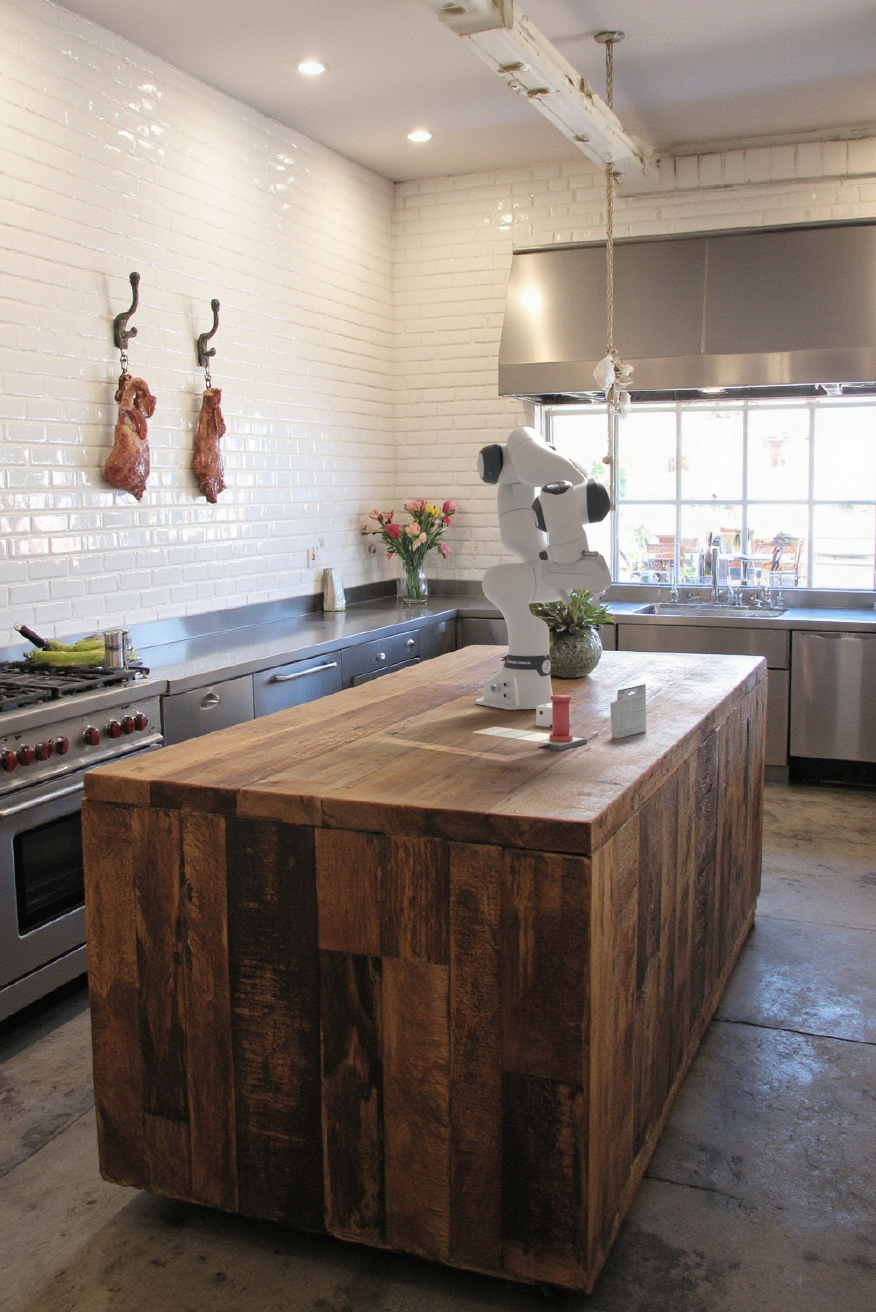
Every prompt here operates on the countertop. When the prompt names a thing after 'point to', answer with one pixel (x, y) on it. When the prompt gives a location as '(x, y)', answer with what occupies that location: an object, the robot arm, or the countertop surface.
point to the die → (546, 715)
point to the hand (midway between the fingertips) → (581, 605)
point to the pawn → (560, 719)
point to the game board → (532, 737)
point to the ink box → (629, 712)
